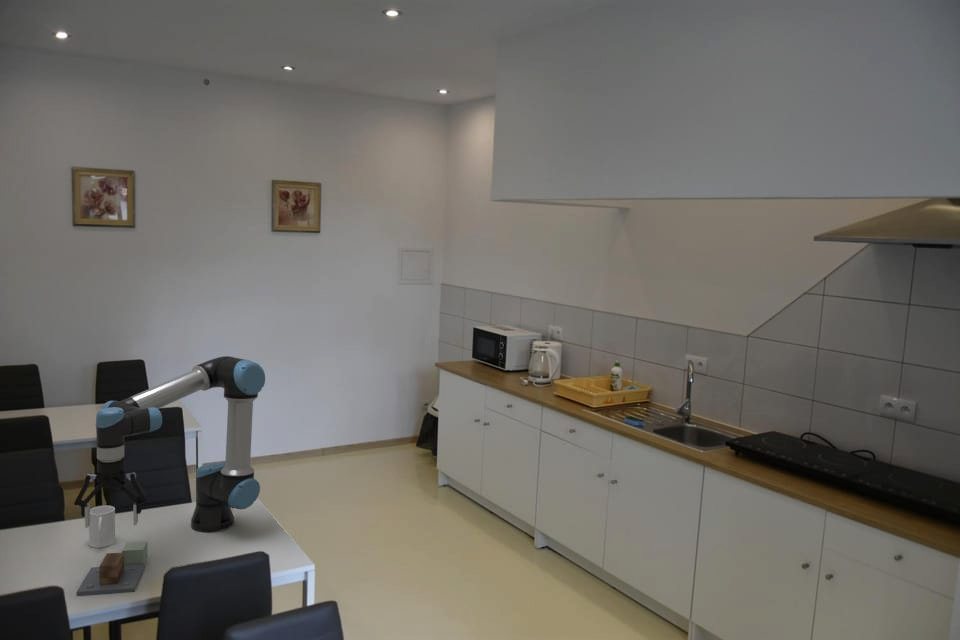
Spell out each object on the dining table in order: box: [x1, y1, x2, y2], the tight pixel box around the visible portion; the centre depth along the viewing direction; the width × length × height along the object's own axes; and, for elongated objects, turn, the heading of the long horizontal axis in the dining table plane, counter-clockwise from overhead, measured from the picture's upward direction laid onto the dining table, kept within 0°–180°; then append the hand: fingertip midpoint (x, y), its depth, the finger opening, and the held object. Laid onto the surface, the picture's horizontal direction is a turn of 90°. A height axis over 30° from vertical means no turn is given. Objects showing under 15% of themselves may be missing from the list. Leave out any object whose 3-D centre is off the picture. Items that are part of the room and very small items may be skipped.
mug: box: [87, 505, 117, 549], centre depth 246 cm, size 12×8×12 cm
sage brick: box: [121, 540, 149, 565], centre depth 235 cm, size 6×6×6 cm
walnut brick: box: [98, 552, 124, 585], centre depth 222 cm, size 5×9×6 cm, turn 14°
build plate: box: [75, 563, 146, 597], centre depth 223 cm, size 16×16×2 cm
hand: (112, 524), depth 221 cm, fingers open, 13 cm apart
